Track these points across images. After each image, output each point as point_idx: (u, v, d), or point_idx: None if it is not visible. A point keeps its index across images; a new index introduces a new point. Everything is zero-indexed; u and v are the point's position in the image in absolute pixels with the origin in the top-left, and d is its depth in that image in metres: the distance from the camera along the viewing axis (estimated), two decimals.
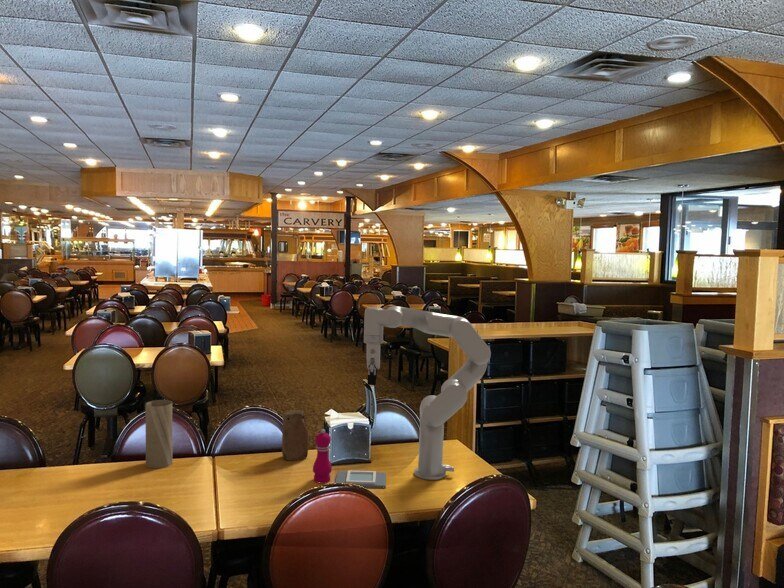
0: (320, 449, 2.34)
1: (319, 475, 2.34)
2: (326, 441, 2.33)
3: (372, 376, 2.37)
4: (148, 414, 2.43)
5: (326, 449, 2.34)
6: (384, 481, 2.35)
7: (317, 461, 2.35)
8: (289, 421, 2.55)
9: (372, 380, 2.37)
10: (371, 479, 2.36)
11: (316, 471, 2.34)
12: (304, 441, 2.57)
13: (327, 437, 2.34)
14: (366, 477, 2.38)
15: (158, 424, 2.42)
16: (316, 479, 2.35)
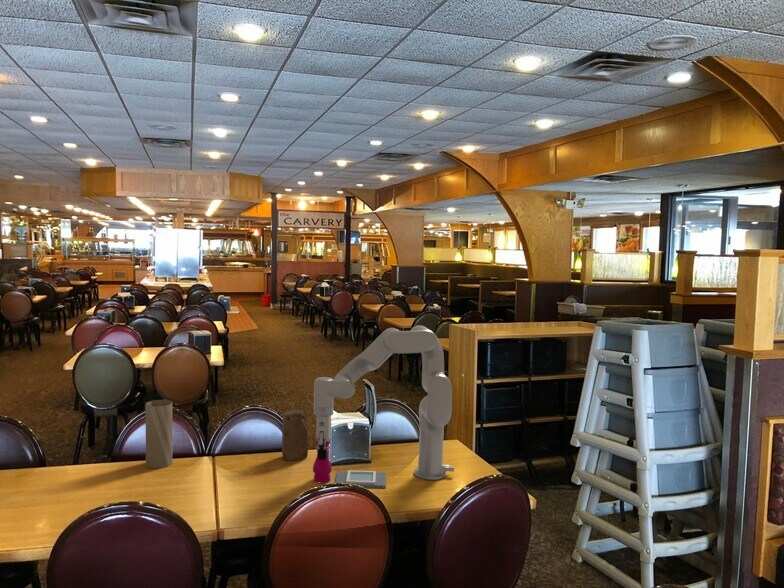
0: None
1: (319, 475, 2.34)
2: (326, 441, 2.33)
3: (322, 450, 2.32)
4: (148, 414, 2.43)
5: (326, 449, 2.34)
6: (384, 481, 2.35)
7: (317, 461, 2.35)
8: (289, 421, 2.55)
9: (322, 455, 2.32)
10: (371, 479, 2.36)
11: (316, 471, 2.34)
12: (304, 441, 2.57)
13: None
14: (366, 477, 2.38)
15: (158, 424, 2.42)
16: (316, 479, 2.35)
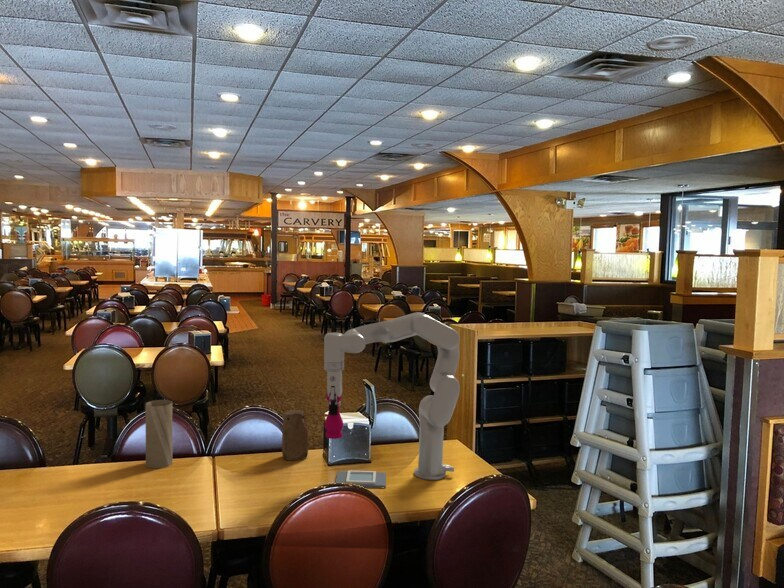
0: None
1: (331, 431, 2.33)
2: (337, 396, 2.32)
3: (333, 406, 2.31)
4: (148, 414, 2.43)
5: None
6: (384, 481, 2.35)
7: (329, 417, 2.33)
8: (289, 421, 2.55)
9: (333, 410, 2.31)
10: (371, 479, 2.36)
11: (328, 427, 2.33)
12: (304, 441, 2.57)
13: None
14: (366, 477, 2.38)
15: (158, 424, 2.42)
16: (328, 435, 2.33)
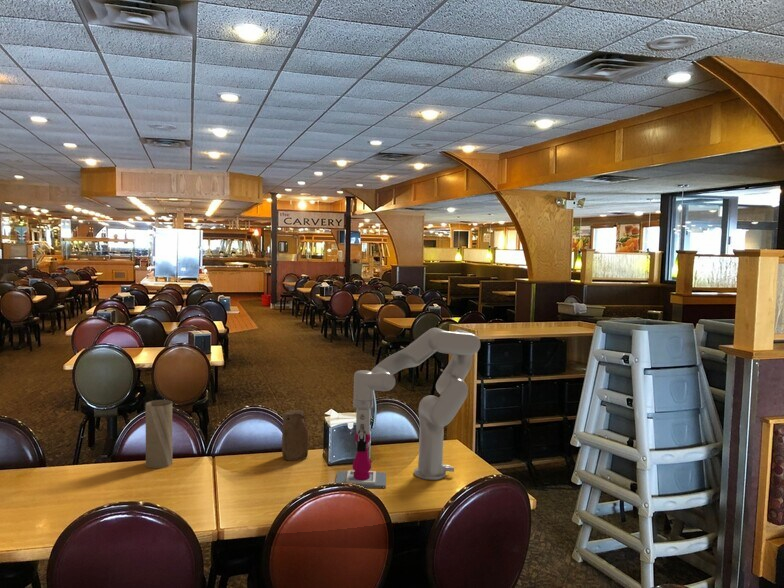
0: None
1: (359, 472, 2.35)
2: (366, 438, 2.35)
3: (362, 442, 2.30)
4: (148, 414, 2.43)
5: (366, 446, 2.36)
6: (384, 481, 2.35)
7: (357, 458, 2.36)
8: (289, 421, 2.55)
9: (362, 447, 2.31)
10: (371, 479, 2.36)
11: (356, 468, 2.35)
12: (304, 441, 2.57)
13: (367, 434, 2.35)
14: None
15: (158, 424, 2.42)
16: (356, 476, 2.36)
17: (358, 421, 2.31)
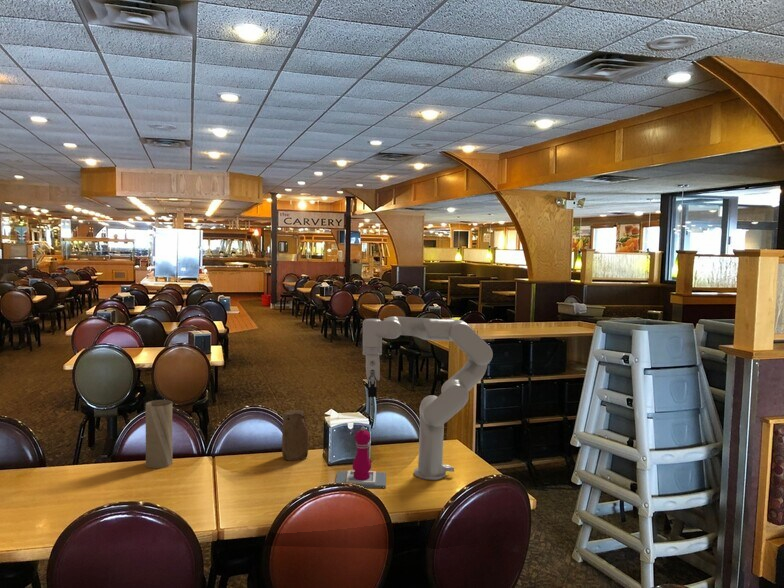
0: (360, 446, 2.35)
1: (359, 472, 2.35)
2: (366, 438, 2.35)
3: (373, 388, 2.36)
4: (148, 414, 2.43)
5: (366, 446, 2.36)
6: (384, 481, 2.35)
7: (357, 458, 2.36)
8: (289, 421, 2.55)
9: (373, 392, 2.36)
10: (371, 479, 2.36)
11: (356, 468, 2.35)
12: (304, 441, 2.57)
13: (367, 434, 2.35)
14: None
15: (158, 424, 2.42)
16: (356, 476, 2.36)
17: (368, 367, 2.36)
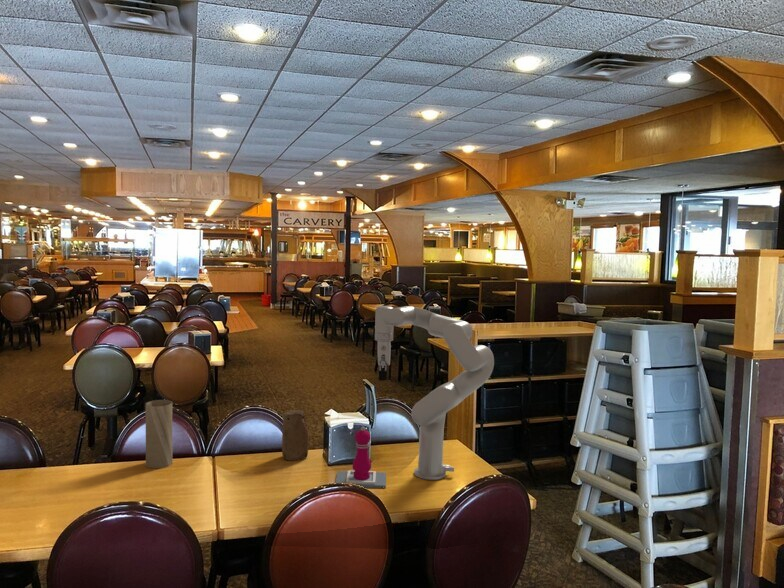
0: (360, 446, 2.35)
1: (359, 472, 2.35)
2: (366, 438, 2.35)
3: (383, 372, 2.47)
4: (148, 414, 2.42)
5: (366, 446, 2.36)
6: (384, 481, 2.35)
7: (357, 458, 2.36)
8: (289, 421, 2.55)
9: (383, 376, 2.47)
10: (371, 479, 2.36)
11: (356, 468, 2.35)
12: (304, 441, 2.57)
13: (367, 434, 2.35)
14: None
15: (158, 424, 2.42)
16: (356, 476, 2.36)
17: (379, 352, 2.47)
